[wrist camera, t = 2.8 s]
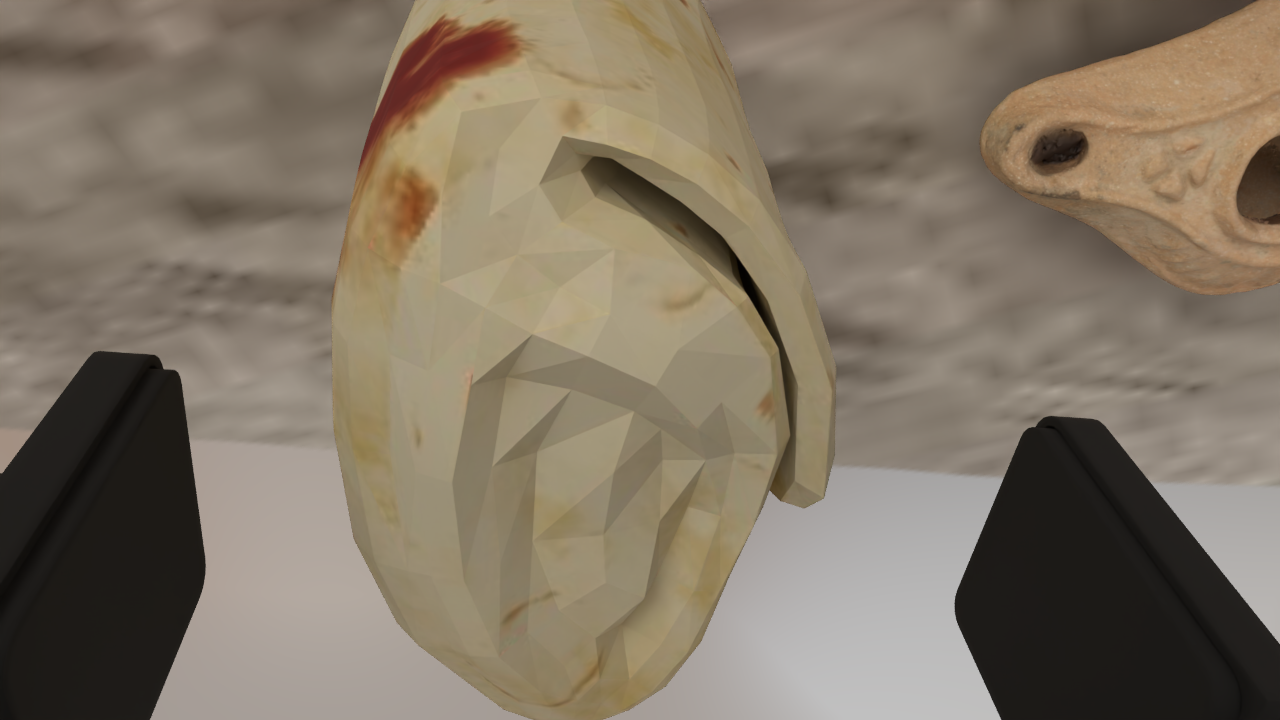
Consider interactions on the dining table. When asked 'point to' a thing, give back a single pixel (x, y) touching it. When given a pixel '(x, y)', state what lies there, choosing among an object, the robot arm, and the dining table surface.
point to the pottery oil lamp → (1162, 151)
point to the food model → (568, 346)
